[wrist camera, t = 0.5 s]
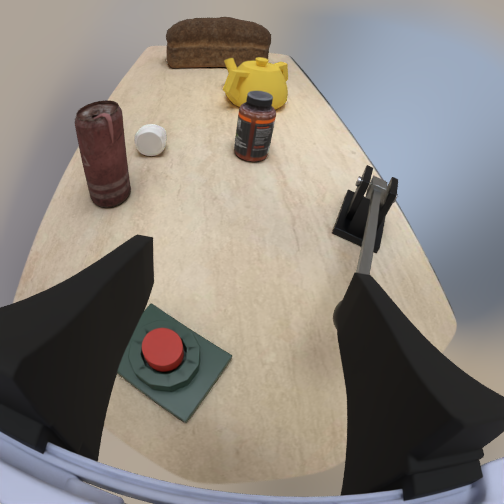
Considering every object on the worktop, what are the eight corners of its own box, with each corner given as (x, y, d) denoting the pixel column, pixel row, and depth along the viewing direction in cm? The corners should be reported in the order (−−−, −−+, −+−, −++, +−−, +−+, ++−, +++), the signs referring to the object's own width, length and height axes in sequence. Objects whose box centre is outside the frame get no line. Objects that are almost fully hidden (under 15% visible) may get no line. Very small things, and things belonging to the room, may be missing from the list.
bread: (164, 57, 86) (166, 13, 74) (259, 58, 95) (266, 17, 82) (165, 70, 78) (167, 20, 66) (271, 71, 86) (280, 25, 74)
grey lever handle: (358, 350, 24) (377, 328, 21) (322, 335, 24) (338, 311, 22) (382, 199, 43) (391, 180, 41) (363, 190, 44) (371, 171, 41)
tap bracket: (376, 253, 43) (402, 211, 36) (331, 233, 44) (352, 187, 37) (384, 212, 49) (405, 173, 42) (345, 194, 50) (363, 153, 44)
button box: (231, 359, 30) (234, 348, 28) (186, 423, 26) (184, 418, 23) (152, 308, 33) (148, 293, 30) (105, 363, 28) (96, 352, 26)
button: (191, 349, 28) (190, 342, 26) (168, 379, 26) (166, 373, 24) (160, 328, 29) (158, 320, 27) (137, 356, 26) (133, 349, 25)
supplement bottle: (274, 154, 54) (287, 97, 46) (254, 167, 51) (265, 105, 42) (247, 141, 56) (256, 85, 47) (226, 152, 53) (233, 92, 44)
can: (111, 216, 40) (93, 125, 29) (83, 198, 41) (64, 114, 31) (140, 192, 44) (133, 104, 33) (112, 177, 45) (101, 95, 34)
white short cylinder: (170, 139, 53) (170, 112, 49) (166, 157, 50) (165, 129, 46) (140, 139, 53) (139, 113, 48) (134, 157, 49) (131, 129, 45)
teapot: (248, 80, 78) (254, 43, 69) (303, 104, 72) (313, 64, 63) (191, 95, 67) (193, 52, 59) (248, 123, 61) (256, 73, 52)
